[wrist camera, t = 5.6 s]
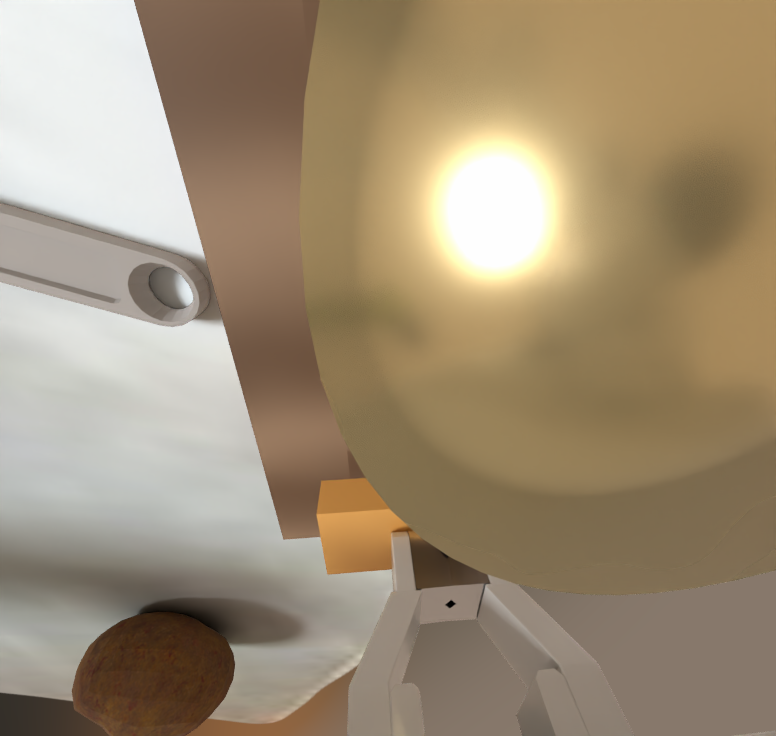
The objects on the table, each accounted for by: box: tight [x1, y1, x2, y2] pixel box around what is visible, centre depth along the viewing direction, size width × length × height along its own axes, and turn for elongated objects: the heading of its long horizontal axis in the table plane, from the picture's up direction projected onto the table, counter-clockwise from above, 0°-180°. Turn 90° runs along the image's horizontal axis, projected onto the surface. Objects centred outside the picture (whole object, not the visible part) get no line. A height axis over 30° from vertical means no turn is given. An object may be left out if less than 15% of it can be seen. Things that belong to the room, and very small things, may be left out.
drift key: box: [316, 478, 413, 574], centre depth 12 cm, size 3×7×6 cm, turn 91°
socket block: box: [134, 0, 365, 539], centre depth 12 cm, size 18×12×4 cm, turn 1°
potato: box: [72, 612, 235, 736], centre depth 21 cm, size 7×10×6 cm
